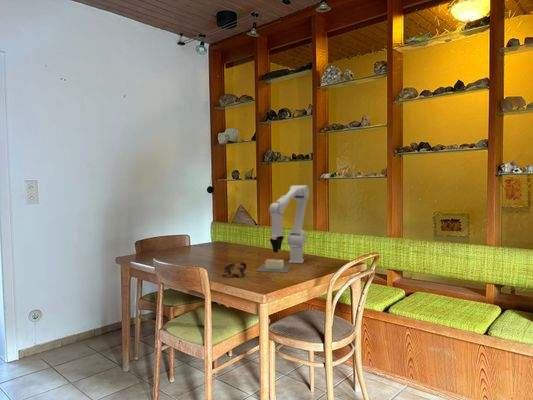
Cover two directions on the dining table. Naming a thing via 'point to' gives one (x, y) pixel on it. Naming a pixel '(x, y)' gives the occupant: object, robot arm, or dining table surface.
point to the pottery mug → (237, 265)
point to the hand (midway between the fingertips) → (277, 251)
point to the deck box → (274, 264)
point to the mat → (284, 270)
